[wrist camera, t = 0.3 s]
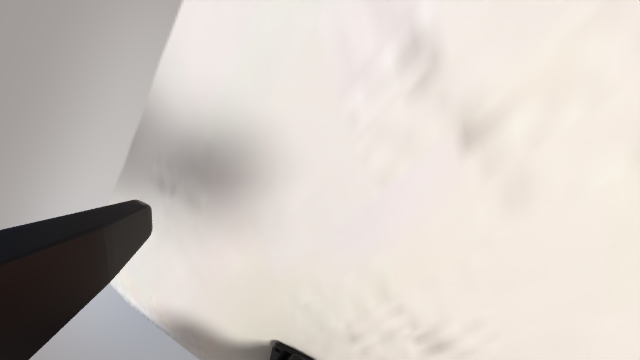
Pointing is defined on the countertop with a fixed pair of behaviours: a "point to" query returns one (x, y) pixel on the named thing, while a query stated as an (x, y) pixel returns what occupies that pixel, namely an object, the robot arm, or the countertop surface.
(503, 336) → the countertop surface
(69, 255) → the robot arm
